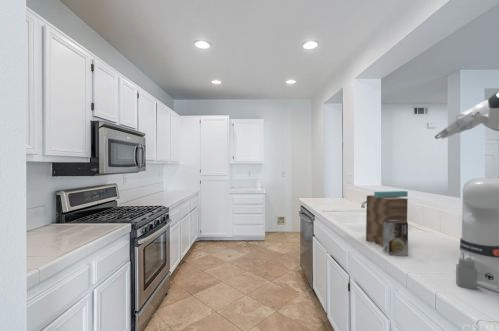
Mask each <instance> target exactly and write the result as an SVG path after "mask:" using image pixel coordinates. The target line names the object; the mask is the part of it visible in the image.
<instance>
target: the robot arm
mask: <svg viewBox="0 0 499 331" xmlns="http://www.w3.org/2000/svg"><path fill="white" fill-rule="evenodd" d="M482 124H483V126H485V127H487V128H489V129H491V130H494V131H497V132H499V91H498V92H495V93H494V94H492V95H491V96H490V97H489V98H488V99H486V100H484V101H481V102H479V103H477V104H476V105H474V106H473V107H471V108H468V109H466V110H464V111H462V112H461V113H458V114H457V115H456V117H455V118H454V120H453V121H452V122H450V124H449V125H447V126H446V127H445V128H444V129H442V130H440V131H439V132H438V133H437V134H436V135H434V139H435V140H438V139H440V138H441V139H446V138H448V137H452V136H453V135H456V134H461V133H462V132H465V131H468V130H472V129H473V128H475V127H478V126H479V125H482ZM461 210H462V213H461V238H460V242H459V249H460V257H459V259H460V258H462V259H463V253H464V259H469V256H470V254H471V260H473V261H475V266H474V267H476V268H477V287H478V286H479V287H482V288H484V289H487V290H489V291H490V290H491V291H493V292H496V293H499V177H498V178H484V177H477V178H472V179H470V180H468V181H467V182H466V183H465V184H464V185H463V188H462V209H461Z"/></svg>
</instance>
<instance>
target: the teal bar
mask: <svg viewBox="0 0 499 331" xmlns="http://www.w3.org/2000/svg"><path fill="white" fill-rule="evenodd" d="M408 192H409V191H407V190H394V191H393V190H391V191H388V190H387V191H374V193H373V195H374V197H376V198H388V197H399V198H407V197H408Z"/></svg>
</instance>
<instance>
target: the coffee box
mask: <svg viewBox="0 0 499 331" xmlns="http://www.w3.org/2000/svg"><path fill="white" fill-rule="evenodd" d="M382 248H383V249H382V251H383V250H384V251H385V252H384V251H383V252H384V253H385V254H387V253H388V254H392V255H391V256H405V255H406V256H407V257H408V255H409V222H408V221H407V222H405V221H403V220H384V228H383V247H382ZM388 254H387V255H388Z"/></svg>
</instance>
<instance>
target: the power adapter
mask: <svg viewBox="0 0 499 331" xmlns="http://www.w3.org/2000/svg"><path fill="white" fill-rule="evenodd" d="M474 266H475V261H473V260H471V254H470V256H469V259H464V253H463V259H462V258H460V257H459V258H458V263H456V266H455V267H456V268H455V285H456V286H457V287H461V288H466V289H471V290H475V291H476V290H478V285H477V268H476V267H474Z"/></svg>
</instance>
